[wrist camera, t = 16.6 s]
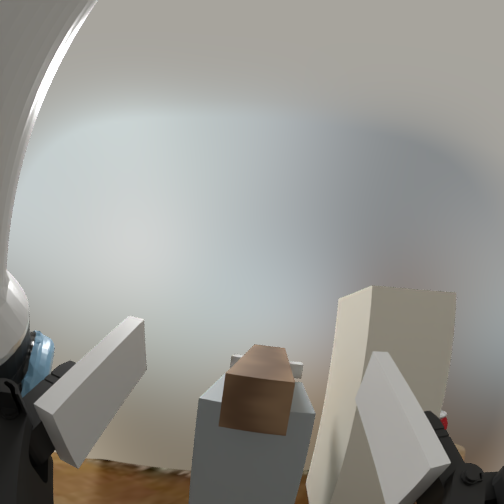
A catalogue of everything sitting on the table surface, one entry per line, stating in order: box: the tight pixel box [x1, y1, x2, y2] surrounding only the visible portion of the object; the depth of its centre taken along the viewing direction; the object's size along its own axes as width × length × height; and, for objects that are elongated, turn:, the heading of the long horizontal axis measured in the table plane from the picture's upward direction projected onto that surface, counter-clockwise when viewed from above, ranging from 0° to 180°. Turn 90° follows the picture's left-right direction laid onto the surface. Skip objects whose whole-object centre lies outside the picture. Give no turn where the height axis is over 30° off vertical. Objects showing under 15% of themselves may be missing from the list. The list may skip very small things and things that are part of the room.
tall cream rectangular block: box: [306, 285, 456, 504], centre depth 28 cm, size 10×15×30 cm, turn 175°
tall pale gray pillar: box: [189, 374, 315, 504], centre depth 23 cm, size 9×12×19 cm
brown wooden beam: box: [219, 345, 303, 436], centre depth 25 cm, size 9×22×4 cm, turn 175°
